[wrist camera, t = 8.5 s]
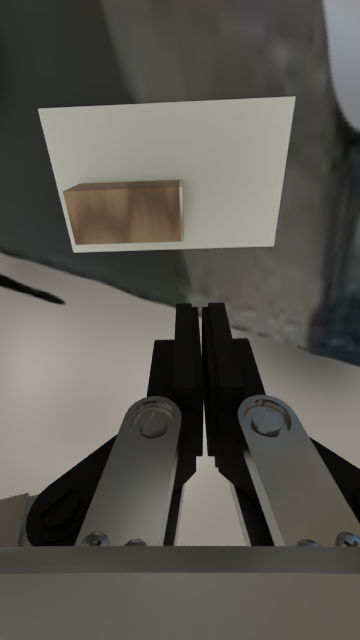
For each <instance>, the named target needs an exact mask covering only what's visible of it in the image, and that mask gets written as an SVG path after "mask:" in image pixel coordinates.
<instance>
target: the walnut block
mask: <svg viewBox="0 0 360 640" xmlns="http://www.w3.org/2000/svg"><path fill="white" fill-rule="evenodd" d="M63 195H64V199H65V203H66V208H67V212H68V216H69V220H70V224H71V228H72V232H73V236H74V241H75V245H91V244H122V243H153V242H184V203H183V180H159V181H133V182H108V183H82V184H78V185H75V186H73V187H71V188H69V189H67V190H65V191H63Z"/></svg>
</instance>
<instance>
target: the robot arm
mask: <svg viewBox="0 0 360 640" xmlns="http://www.w3.org/2000/svg"><path fill="white" fill-rule="evenodd" d="M203 405H204V410H205V424H206V437H207V451H208V456H215V467H218V468H219V472H220V473H221V474H222V475H223V476H224V477H225V478H227V479H228V480H229V481H230V489H231V492H232V496H233V500H234V503H235V507H236V511H237V514H238V518H239V521H240V525H241V529H242V533H243V536H244V540H245V543H246V546H176V544H177V537H178V530H179V523H180V516H181V508H182V502H183V494H184V484H185V483H186V482H187V481H188V480H189V479H190V477H191V476H192V475H193V474H194V473H195V472H196V456H202V455H203V453H202V452H203ZM0 640H360V469H359V468H357V467H356V466H354V465H352V464H351V463H349V462H348V461H346V460H344V459H343V458H342V457H340V456H338V455H337V454H335V453H334V452H332V451H330V450H329V449H327V448H326V447H324V446H323V445H321V444H320V443H318V442H316V441H315V440H313V439H312V438H310V437H309V436H308V435H307V433H306V431H305V429H304V428H303V426H302V424H301V422H300V421H299V419H298V417H297V415H296V414H295V412H294V411H293V410H292V409H291V407H290V406H289V405H287V404H286V403H285V402H283V401H282V400H280V399H278V398H276V397H273V396H268V395H266V394H265V390H264V387H263V384H262V381H261V378H260V375H259V371H258V368H257V365H256V362H255V359H254V355H253V352H252V349H251V346H250V342H249V340H248V339H247V338H242V339H241V338H239V339H232V335H231V330H230V326H229V322H228V318H227V313H226V309H225V305H224V303H208V307H202V357H201V344H200V332H199V318H198V307H192V304H191V303H182V304H176V321H175V340H155V342H154V349H153V356H152V363H151V370H150V377H149V384H148V391H147V397H146V398H143V399H141V400H139V401H137V402H135V403H134V404H133V405H132V406H131V407H130V408H129V410H128V411H127V413H126V414H125V417H124V419H123V422H122V425H121V427H120V430H119V432H118V434H117V435H116V436H114V437H113V438H112V439H110V440H109V441H108V442H106V443H105V444H104V445H102V446H101V447H100V448H98V449H97V450H96V451H94V452H93V453H92V454H90V455H89V456H88V457H86V458H85V459H84V460H82V461H81V462H80V463H78V464H77V465H76V466H74V467H73V468H72V469H70V470H69V471H68V472H66V473H65V474H64V475H62V476H61V477H60V478H58V479H57V480H56V481H54V482H53V483H52V484H50V485H49V486H48V487H47V488H46V489H45V490H44V491H42V492H41V493H40V494H39V495H35V496H30V495H29V494H28V493H26V494H21V495H17V496H13V497H9V498H5V499H1V500H0Z"/></svg>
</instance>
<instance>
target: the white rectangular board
mask: <svg viewBox="0 0 360 640" xmlns="http://www.w3.org/2000/svg"><path fill="white" fill-rule="evenodd" d="M295 97H296V96H294V97H273V98H252V99H231V100H210V101H189V102H168V103H147V104H126V105H105V106H84V107H64V108H43V109H38V112H39V116H40V120H41V124H42V128H43V132H44V136H45V140H46V144H47V148H48V152H49V156H50V160H51V164H52V168H53V172H54V176H55V180H56V184H57V188H58V192H59V196H60V200H61V204H62V208H63V212H64V216H65V220H66V224H67V228H68V232H69V236H70V240H71V244H72V248H73V252H104V251H136V250H168V249H200V248H231V247H263V246H274V241H275V234H276V227H277V220H278V213H279V207H280V200H281V193H282V186H283V179H284V172H285V166H286V159H287V152H288V145H289V138H290V132H291V125H292V118H293V111H294V104H295ZM159 180H183V203H184V242H153V243H122V244H91V245H75V241H74V236H73V232H72V228H71V224H70V220H69V216H68V212H67V208H66V203H65V199H64V195H63V191H65V190H67V189H69V188H71V187H73V186H75V185H78V184H82V183H108V182H133V181H159Z"/></svg>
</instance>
